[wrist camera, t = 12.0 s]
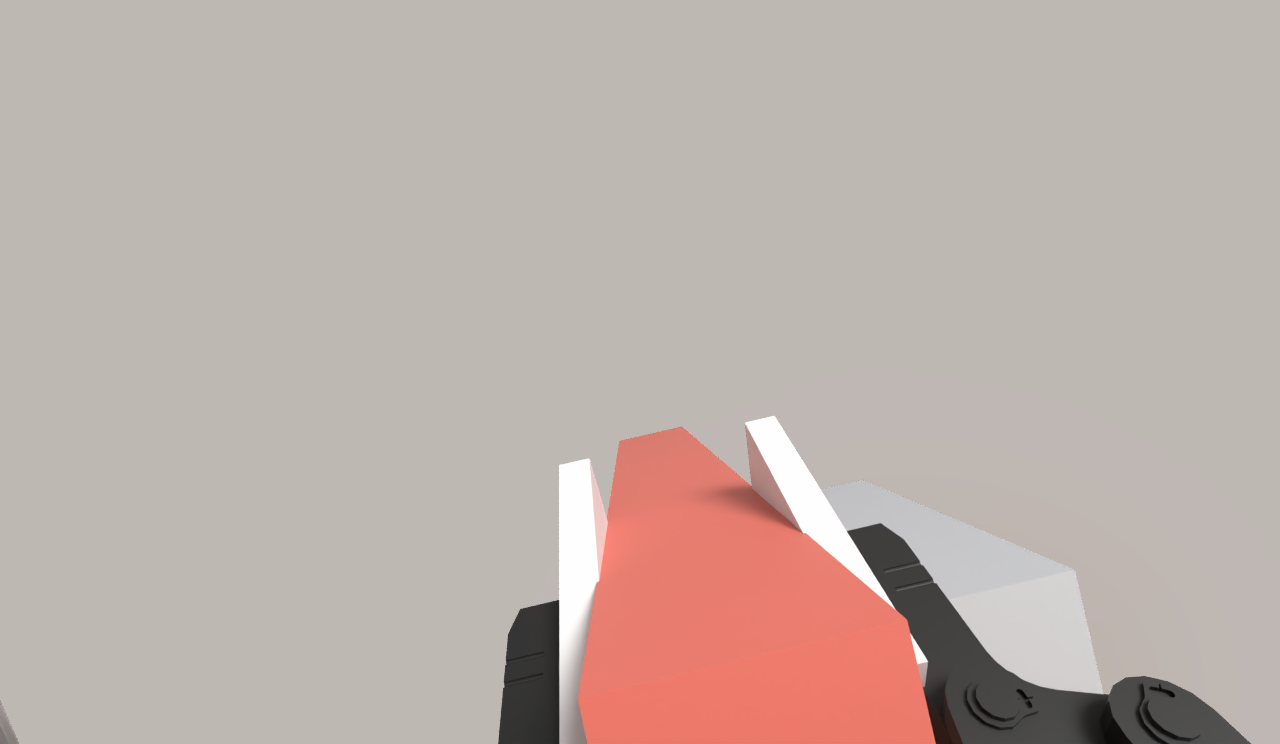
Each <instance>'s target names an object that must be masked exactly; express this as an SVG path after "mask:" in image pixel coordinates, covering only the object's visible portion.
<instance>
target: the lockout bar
mask: <svg viewBox="0 0 1280 744" xmlns="http://www.w3.org/2000/svg"><path fill="white" fill-rule="evenodd" d="M607 521H608V525H607V532H606V538H605V545H604V552H603V558H602V565H601V572H600V578H599V582H597V583H596V589H595V595H594V601H593V607H592V613H591V619H590V626H589V632H588V638H587V644H586V650H585V656H584V662H583V669H582V675H581V681H580V687H579V693H578V703H579V707H580V712H581V716H582V721H583V725H584V730H585V734H586V738H587V743H588V744H936V742H935V738H934V734H933V729H932V725H931V721H930V716H929V712H928V708H927V703H926V699H925V695H924V691H923V686H922V682H921V678H920V673H919V669H918V665H917V660H916V656H915V652H914V647H913V643H912V639H911V634H910V630H909V626H908V621H907V619H906V618H905V617H903V616H902V615H901V614H900V613H899V612H898V611H896V610H895V609H894V608H893V607H892V606H891V605H889V604H888V603H887V602H886V601H885V600H884V599H882V598H881V597H880V596H879V595H878V594H877V593H875V592H874V591H873V590H872V589H871V588H870V587H868V586H867V585H866V584H865V583H864V582H863V581H861V580H860V579H859V578H858V577H857V576H856V575H854V574H853V573H852V572H851V571H850V570H849V569H847V568H846V567H845V566H844V565H843V564H842V563H840V562H839V561H838V560H837V559H836V558H835V557H833V556H832V555H831V554H830V553H829V552H828V551H826V550H825V549H824V548H823V547H822V546H821V545H819V544H818V543H817V542H816V541H815V540H814V539H812V538H811V537H810V536H809V535H808V534H807V533H802V532H801V531H800V530H799V529H798V528H797V527H796V526H794V525H793V524H792V523H791V522H790V521H789V520H788V519H786V518H785V517H784V516H783V515H782V514H781V513H780V512H778V511H777V510H776V509H775V508H774V507H773V506H772V505H770V504H769V503H768V502H767V501H766V500H765V499H764V498H762V497H761V496H760V495H759V494H758V493H757V492H756V491H754V490H753V489H752V486H751V485H749V484H748V483H747V482H746V481H745V480H743V479H742V478H741V477H740V476H739V475H738V474H737V473H735V472H734V471H733V470H732V469H731V468H730V467H728V466H727V465H726V464H725V463H724V462H723V461H721V460H720V459H719V458H718V457H717V456H715V455H714V454H713V453H712V452H711V451H710V450H708V449H707V448H706V447H705V446H704V445H703V444H701V443H700V442H699V441H698V440H697V439H696V438H694V437H693V436H692V435H691V434H690V433H689V432H687V431H686V430H685V429H684V428H683V427H678V428H674V429H670V430H665V431H661V432H657V433H653V434H648V435H644V436H639V437H635V438H630V439H626V440H622V441H619V448H618V454H617V460H616V466H615V472H614V478H613V484H612V491H611V497H610V503H609V509H608V515H607Z"/></svg>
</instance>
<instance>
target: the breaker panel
mask: <svg viewBox="0 0 1280 744" xmlns="http://www.w3.org/2000/svg"><path fill="white" fill-rule="evenodd" d="M821 491H822V493H823V494H824V496H825V498H826V499H827V501H828V502H829V504H830V506H831V507H832V509H833V510H834V512H835V514H836V515H837V517H838V518H839V520H840V522H841V523H842V525H843V526H844V528H845V529H846V531H849V530H853V529H857V528H861V527H866V526H870V525H874V524H879V523H881V524H883V525H884V526H886V527H887V528H889V529H890V530H891V531H893V532H894V533H896V534H897V535H899V536H900V537H901V538H903V539H904V540H905V541H906V543H907V544H908V545H909V547H910V548H911V549H912V551H913V552H914V554H915V555H916V556H917V558H918V559H919V560H920V564H921V565H923V566H924V567H925V568H926V570H927V571H928V572H929V574H930V575H931V577H932V578H933V581H934V583H937V585H938V586H939V587H940V589H941V590H942V591H943V593H944V594H945V596H946V597H947V598H948V600H949V601H950V602H951V604H952V605H953V606H954V608H955V609H956V610H957V612H958V613H959V615H960V616H961V617H962V619H963V620H964V621H965V623H966V624H967V625H968V627H969V628H970V629H971V631H972V632H973V633H974V635H975V636H976V638H977V639H978V640H979V642H980V643H981V644H982V646H983V647H984V648H985V650H986V651H987V652H988V653H989V654H990V655H991V657H992V658H993V659H994V660H995V661H996V662H997V663H999V664H1000V665H1001V666H1002V667H1004V668H1005V669H1006V670H1008V671H1010V672H1012V673H1014V674H1015V675H1017V676H1018V677H1019V678H1021V679H1023V680H1025V681H1027V682H1030V683H1032V684H1035V685H1038V686H1041V687H1046V688H1051V689H1056V690H1066V691H1076V692H1086V693H1096V694H1103V690H1102V686H1101V681H1100V677H1099V673H1098V668H1097V664H1096V660H1095V656H1094V651H1093V647H1092V642H1091V638H1090V634H1089V629H1088V626H1087V621H1086V617H1085V613H1084V608H1083V604H1082V599H1081V595H1080V591H1079V586H1078V582H1077V578H1076V573H1075V570H1074V569H1071V568H1069V567H1067V566H1064V565H1062V564H1060V563H1057V562H1055V561H1052V560H1050V559H1047V558H1045V557H1043V556H1041V555H1038V554H1036V553H1034V552H1031V551H1029V550H1027V549H1024V548H1022V547H1020V546H1017V545H1015V544H1013V543H1010V542H1008V541H1006V540H1003V539H1001V538H998V537H996V536H993V535H991V534H989V533H987V532H984V531H982V530H980V529H977V528H975V527H973V526H970V525H968V524H965V523H963V522H961V521H958V520H956V519H954V518H951V517H949V516H946V515H944V514H942V513H940V512H937V511H935V510H933V509H930V508H928V507H926V506H923V505H921V504H918V503H916V502H914V501H911V500H909V499H907V498H904V497H902V496H900V495H897V494H895V493H892V492H890V491H888V490H885V489H883V488H881V487H878V486H876V485H873V484H871V483H869V482H867V481H864V480H861V481H856V482H852V483H848V484H844V485H839V486H835V487H831V488H826V489H822V490H821Z"/></svg>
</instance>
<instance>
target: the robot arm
mask: <svg viewBox="0 0 1280 744" xmlns="http://www.w3.org/2000/svg"><path fill="white" fill-rule="evenodd" d="M745 428H746V437H747V446H748V455H749V465H750V474H751V483H752V489H753V490H754V491H756V492H757V493H758V494H759V495H760V496H761V497H762V498H764V499H765V500H766V501H767V502H768V503H769V504H770V505H772V506H773V507H774V508H775V509H776V510H777V511H778V512H780V513H781V514H782V515H783V516H784V517H785V518H786V519H788V520H789V521H790V522H791V523H792V524H793V525H794V526H796V527H797V528H798V529H799V530H800V531H801V532H802V533H807V534H808V535H809V536H810V537H811V538H812V539H814V540H815V541H816V542H817V543H818V544H819V545H821V546H822V547H823V548H824V549H825V550H826V551H828V552H829V553H830V554H831V555H832V556H833V557H835V558H836V559H837V560H838V561H839V562H840V563H842V564H843V565H844V566H845V567H846V568H847V569H849V570H850V571H851V572H852V573H853V574H854V575H856V576H857V577H858V578H859V579H860V580H861V581H863V582H864V583H865V584H866V585H867V586H868V587H870V588H871V589H872V590H873V591H874V592H875V593H877V594H878V595H879V596H880V597H881V598H882V599H884V600H885V601H886V602H887V603H888V604H889V605H891V606H892V607H893V608H894V609H895V610H896V611H898V612H899V613H900V614H901V615H902V616H903V617H905V618H906V619H907V621H908V626H909V630H910V634H911V639H912V643H913V647H914V652H915V656H916V660H917V665H918V669H919V673H920V678H921V682H922V686H923V691H924V695H925V699H926V703H927V708H928V712H929V716H930V721H931V725H932V729H933V734H934V738H935V742H936V744H1251V743H1250V742H1248V741H1247V740H1246V739H1245V738H1244V737H1243V736H1242V735H1241V734H1240V733H1239V732H1238V731H1237V730H1236V729H1234V728H1233V727H1232V726H1231V725H1230V724H1229V723H1228V722H1227V721H1226V720H1225V719H1224V718H1223V717H1222V716H1220V715H1219V714H1218V713H1217V712H1216V711H1215V710H1214V709H1213V708H1211V707H1210V706H1209V705H1207V704H1206V703H1205V702H1203V701H1202V700H1201V699H1199V698H1198V697H1196V696H1195V695H1194V694H1193V693H1191V692H1189V691H1186V690H1185V689H1182V688H1180V687H1178V686H1176V685H1174V684H1172V683H1170V682H1168V681H1163V680H1159V679H1155V678H1150V677H1146V676H1141V677H1128V678H1124V679H1123V680H1121V681H1120V682H1118V683H1116V684H1115V685H1113V687H1112V690H1111V692H1110V694H1109V695H1106V694H1096V693H1086V692H1076V691H1066V690H1056V689H1051V688H1046V687H1041V686H1038V685H1035V684H1032V683H1030V682H1027V681H1025V680H1023V679H1021V678H1019V677H1018V676H1017V675H1015V674H1014V673H1012V672H1010V671H1008V670H1006V669H1005V668H1004V667H1002V666H1001V665H1000V664H999V663H997V662H996V661H995V660H994V659H993V658H992V657H991V655H990V654H989V653H988V652H987V651H986V650H985V648H984V647H983V646H982V644H981V643H980V642H979V640H978V639H977V638H976V636H975V635H974V633H973V632H972V631H971V629H970V628H969V627H968V625H967V624H966V623H965V621H964V620H963V619H962V617H961V616H960V615H959V613H958V612H957V610H956V609H955V608H954V606H953V605H952V604H951V602H950V601H949V600H948V598H947V597H946V596H945V594H944V593H943V591H942V590H941V589H940V587H939V586H938V585H937V583H934V581H933V578H932V577H931V575H930V574H929V572H928V571H927V570H926V568H925V567H924V566H923V565H921V564H920V560H919V559H918V558H917V556H916V555H915V554H914V552H913V551H912V549H911V548H910V547H909V545H908V544H907V543H906V541H905V540H904V539H903V538H901V537H900V536H899V535H897V534H896V533H894V532H893V531H891V530H890V529H889V528H887V527H886V526H884V525H883V524H881V523H879V524H874V525H870V526H866V527H861V528H857V529H853V530H849V531H846V529H845V528H844V526H843V525H842V523H841V522H840V520H839V518H838V517H837V515H836V514H835V512H834V510H833V509H832V507H831V506H830V504H829V502H828V501H827V499H826V498H825V496H824V494H823V493H822V491H821V490H820V488H819V486H818V485H817V483H816V482H815V480H814V478H813V477H812V475H811V474H810V472H809V470H808V469H807V467H806V466H805V464H804V462H803V461H802V459H801V458H800V456H799V454H798V453H797V451H796V450H795V448H794V446H793V445H792V443H791V442H790V440H789V438H788V437H787V435H786V434H785V432H784V430H783V429H782V427H781V426H780V424H779V422H778V421H777V419H776V418H775V416H772V417H768V418H763V419H759V420H755V421H750V422H746V423H745ZM607 525H608V521H607V517H606V514H605V510H604V507H603V503H602V500H601V497H600V493H599V490H598V487H597V483H596V480H595V476H594V473H593V469H592V466H591V462H590V459H584V460H580V461H576V462H571V463H567V464H563V465H559V570H560V571H559V596H560V597H559V600H557V601H553V602H549V603H544V604H540V605H536V606H531V607H528V608H523V609H520V611H519V613H518V615H517V617H516V619H515V621H514V623H513V625H512V627H511V629H510V632H509V634H508V642H507V653H506V654H507V655H506V664H507V665H506V666H505V675H504V685H505V687H504V688H503V698H502V709H501V720H500V731H499V742H498V744H588V743H587V738H586V734H585V730H584V725H583V721H582V716H581V712H580V707H579V703H578V693H579V687H580V681H581V675H582V669H583V662H584V656H585V650H586V644H587V638H588V632H589V626H590V619H591V613H592V607H593V601H594V595H595V589H596V583H597V582H599V578H600V572H601V565H602V558H603V552H604V545H605V538H606V532H607ZM0 744H19V742H18V740H17V738H16V735H15V733H14V731H13V729H12V726H11V724H10V722H9V720H8V717H7V715H6V713H5V711H4V708H3V706H2V704H1V702H0Z"/></svg>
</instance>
